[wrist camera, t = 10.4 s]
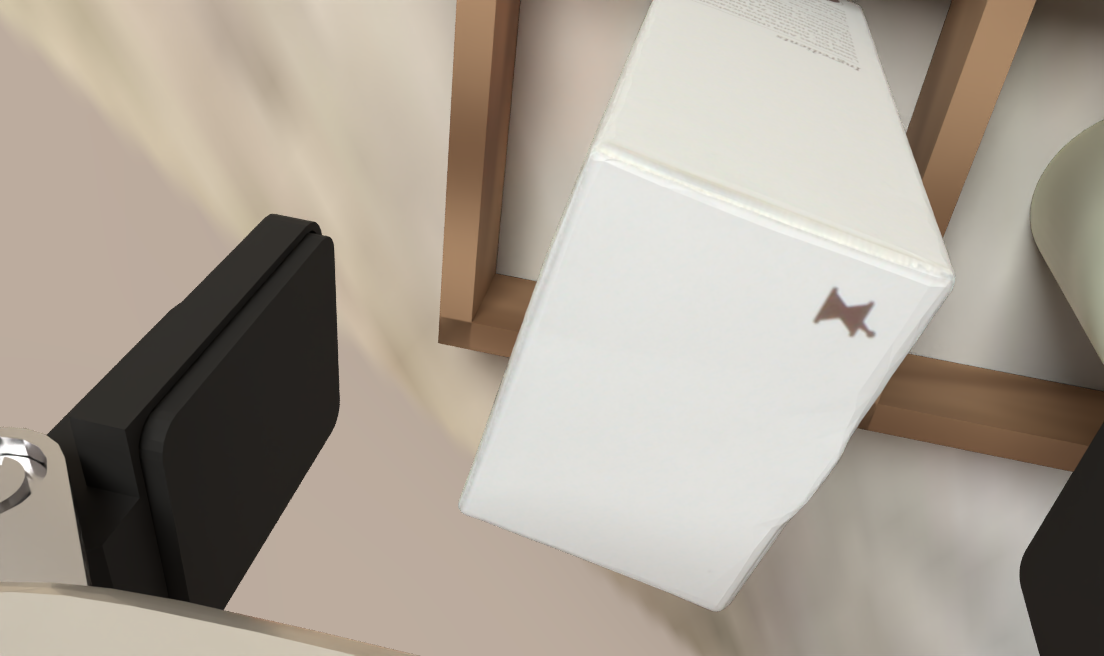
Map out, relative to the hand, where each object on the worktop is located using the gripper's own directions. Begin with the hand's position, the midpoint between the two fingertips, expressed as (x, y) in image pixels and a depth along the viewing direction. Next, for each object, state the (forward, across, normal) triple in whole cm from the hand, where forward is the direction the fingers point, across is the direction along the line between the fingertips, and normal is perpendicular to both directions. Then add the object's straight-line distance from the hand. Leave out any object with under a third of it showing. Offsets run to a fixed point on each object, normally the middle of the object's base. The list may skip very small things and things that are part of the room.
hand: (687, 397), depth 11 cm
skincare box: (+12, 0, 0) cm, 12 cm away
